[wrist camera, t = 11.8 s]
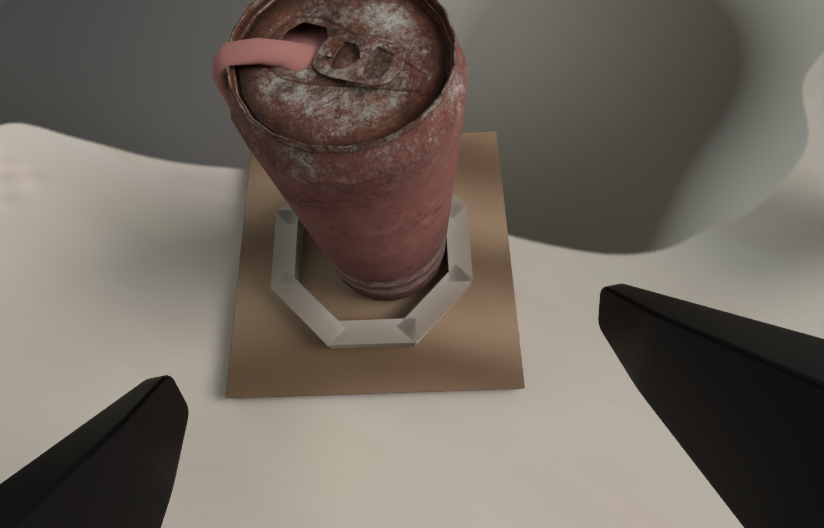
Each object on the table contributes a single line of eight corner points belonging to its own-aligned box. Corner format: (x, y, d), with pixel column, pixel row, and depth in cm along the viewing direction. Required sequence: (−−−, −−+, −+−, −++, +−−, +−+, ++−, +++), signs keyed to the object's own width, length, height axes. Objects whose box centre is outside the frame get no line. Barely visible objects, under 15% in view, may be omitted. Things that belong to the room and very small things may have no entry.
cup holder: (521, 388, 21) (530, 387, 19) (233, 398, 21) (214, 398, 19) (494, 139, 26) (499, 118, 24) (257, 149, 26) (243, 129, 24)
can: (321, 215, 23) (186, -22, 10) (428, 189, 24) (433, -72, 10) (340, 316, 22) (206, 190, 8) (456, 287, 22) (506, 123, 9)
